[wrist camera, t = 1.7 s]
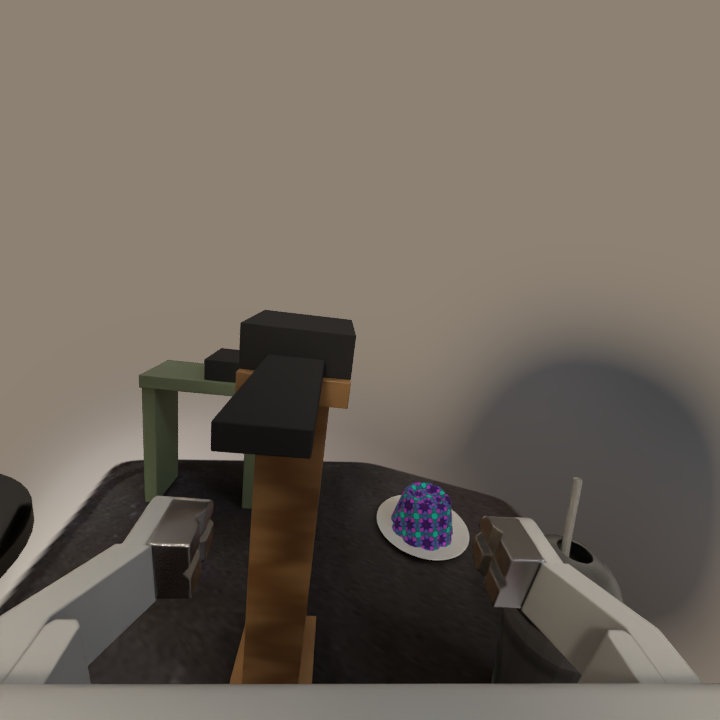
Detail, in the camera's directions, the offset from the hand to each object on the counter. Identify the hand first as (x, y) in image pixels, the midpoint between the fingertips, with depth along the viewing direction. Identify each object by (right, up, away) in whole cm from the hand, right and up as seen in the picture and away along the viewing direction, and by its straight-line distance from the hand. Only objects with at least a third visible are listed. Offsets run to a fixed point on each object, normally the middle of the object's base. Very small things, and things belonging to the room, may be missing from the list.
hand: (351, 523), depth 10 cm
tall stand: (-7, -20, +17) cm, 27 cm away
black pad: (-3, +4, +7) cm, 9 cm away
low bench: (-20, -13, +37) cm, 44 cm away
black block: (-15, +3, +33) cm, 37 cm away
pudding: (+8, -17, +35) cm, 40 cm away
